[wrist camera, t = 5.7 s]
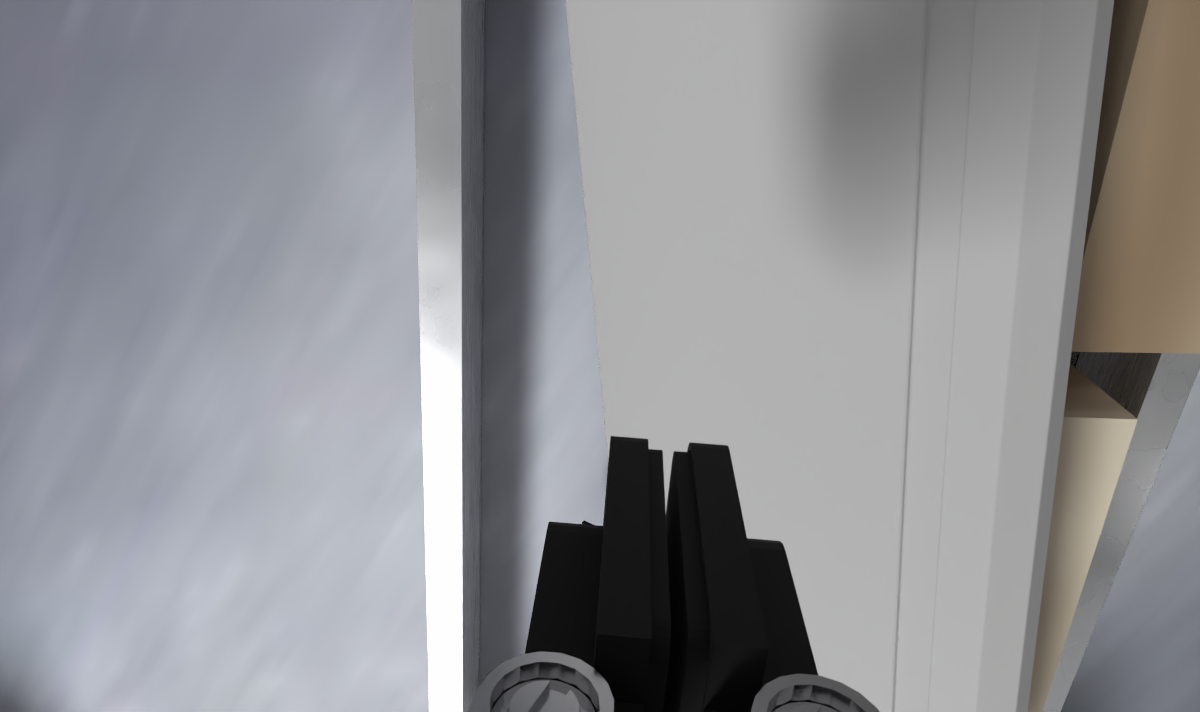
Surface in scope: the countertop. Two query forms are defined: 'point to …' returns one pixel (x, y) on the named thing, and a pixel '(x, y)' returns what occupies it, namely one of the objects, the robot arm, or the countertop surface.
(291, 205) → the countertop surface
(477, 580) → the offcut rack
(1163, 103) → the offcut
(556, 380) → the countertop surface
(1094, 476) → the offcut
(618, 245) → the baseboard
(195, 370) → the countertop surface
